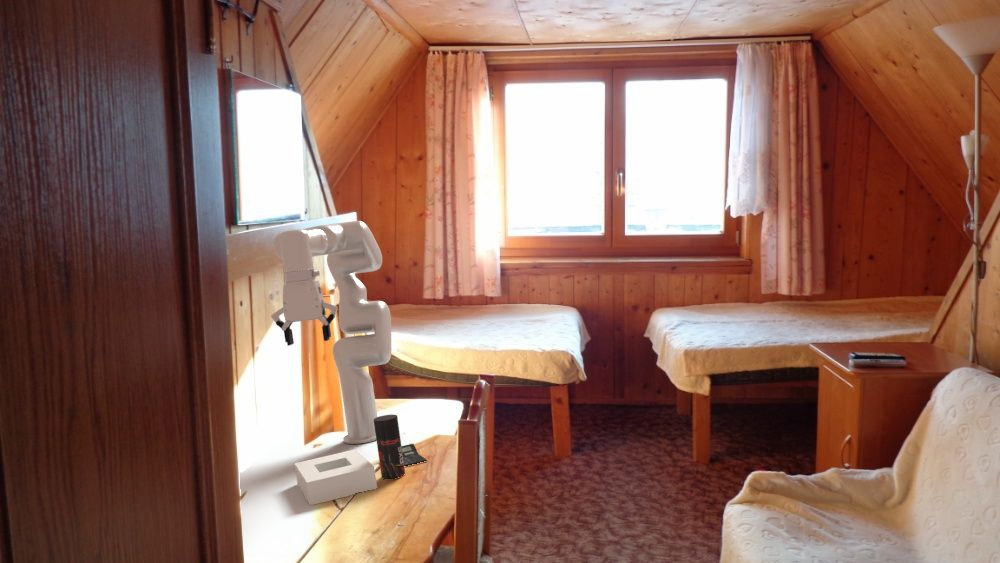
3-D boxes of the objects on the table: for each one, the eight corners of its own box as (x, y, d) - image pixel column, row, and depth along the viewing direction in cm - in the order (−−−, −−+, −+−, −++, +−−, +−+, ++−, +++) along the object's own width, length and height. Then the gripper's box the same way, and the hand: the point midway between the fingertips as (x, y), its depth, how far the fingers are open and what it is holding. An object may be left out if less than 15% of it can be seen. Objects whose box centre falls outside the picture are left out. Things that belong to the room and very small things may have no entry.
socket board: (297, 484, 200) (294, 463, 199) (358, 469, 206) (355, 449, 205) (310, 505, 181) (306, 482, 181) (377, 488, 187) (374, 466, 187)
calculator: (393, 471, 201) (391, 460, 201) (381, 461, 212) (380, 450, 212) (427, 462, 205) (425, 451, 205) (414, 453, 215) (412, 443, 215)
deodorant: (403, 478, 193) (395, 419, 192) (379, 481, 193) (371, 422, 192) (406, 470, 199) (398, 413, 198) (383, 473, 199) (375, 416, 198)
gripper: (336, 272, 205) (344, 336, 206) (272, 280, 206) (281, 344, 207) (328, 274, 198) (337, 340, 199) (262, 282, 199) (271, 348, 199)
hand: (308, 342), depth 203 cm, fingers open, 9 cm apart
